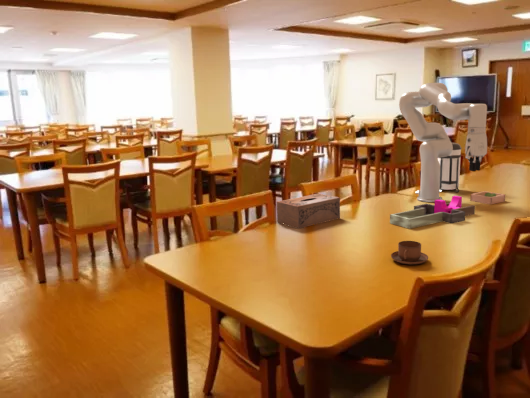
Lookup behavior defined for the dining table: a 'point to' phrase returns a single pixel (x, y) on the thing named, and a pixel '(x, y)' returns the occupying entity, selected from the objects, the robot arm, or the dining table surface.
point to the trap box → (429, 216)
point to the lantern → (450, 169)
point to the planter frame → (487, 198)
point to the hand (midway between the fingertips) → (474, 170)
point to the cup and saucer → (409, 253)
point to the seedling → (490, 194)
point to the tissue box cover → (308, 210)
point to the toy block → (454, 204)
